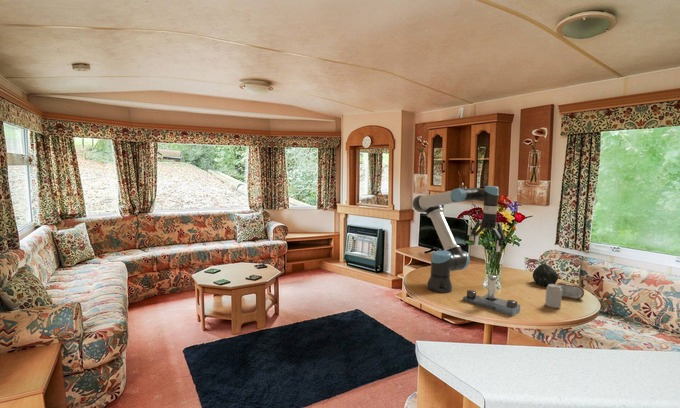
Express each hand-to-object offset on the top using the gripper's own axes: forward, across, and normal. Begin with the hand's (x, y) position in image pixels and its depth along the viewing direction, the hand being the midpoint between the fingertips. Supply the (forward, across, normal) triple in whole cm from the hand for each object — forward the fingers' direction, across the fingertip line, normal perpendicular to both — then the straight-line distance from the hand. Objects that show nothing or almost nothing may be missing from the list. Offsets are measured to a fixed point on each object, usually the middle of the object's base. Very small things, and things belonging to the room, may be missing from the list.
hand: (486, 249), depth 214 cm
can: (+28, +31, +19) cm, 46 cm away
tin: (+29, +31, +42) cm, 60 cm away
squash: (+29, +12, +56) cm, 64 cm away
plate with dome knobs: (+29, +10, -10) cm, 32 cm away
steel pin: (+29, +10, -10) cm, 32 cm away
